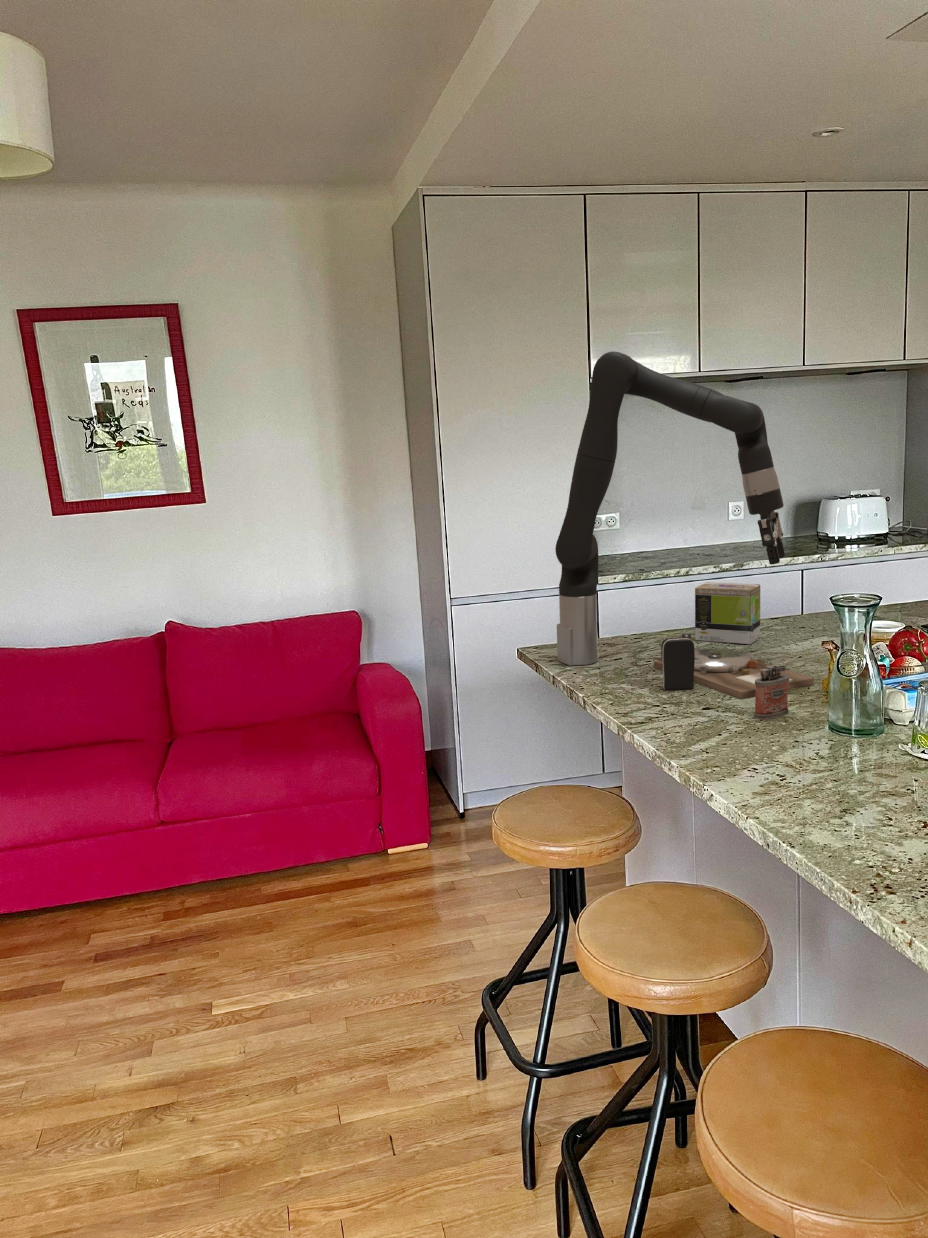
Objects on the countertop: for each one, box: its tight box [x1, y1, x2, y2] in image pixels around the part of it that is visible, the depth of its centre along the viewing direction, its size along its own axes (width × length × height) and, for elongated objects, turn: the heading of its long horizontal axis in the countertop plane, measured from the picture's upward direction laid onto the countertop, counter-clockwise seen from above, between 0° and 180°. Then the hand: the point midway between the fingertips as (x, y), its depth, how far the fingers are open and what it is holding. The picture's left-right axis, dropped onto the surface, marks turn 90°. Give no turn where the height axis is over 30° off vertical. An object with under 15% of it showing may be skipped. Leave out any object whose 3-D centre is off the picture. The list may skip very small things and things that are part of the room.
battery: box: [660, 636, 696, 691], centre depth 200 cm, size 7×4×11 cm, turn 92°
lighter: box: [753, 663, 789, 720], centre depth 179 cm, size 8×3×10 cm, turn 118°
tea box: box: [694, 581, 761, 645], centre depth 242 cm, size 15×10×15 cm, turn 58°
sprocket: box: [681, 632, 758, 674], centre depth 213 cm, size 19×19×6 cm
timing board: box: [653, 659, 815, 700], centre depth 209 cm, size 20×31×2 cm, turn 24°
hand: (777, 560), depth 204 cm, fingers open, 8 cm apart
